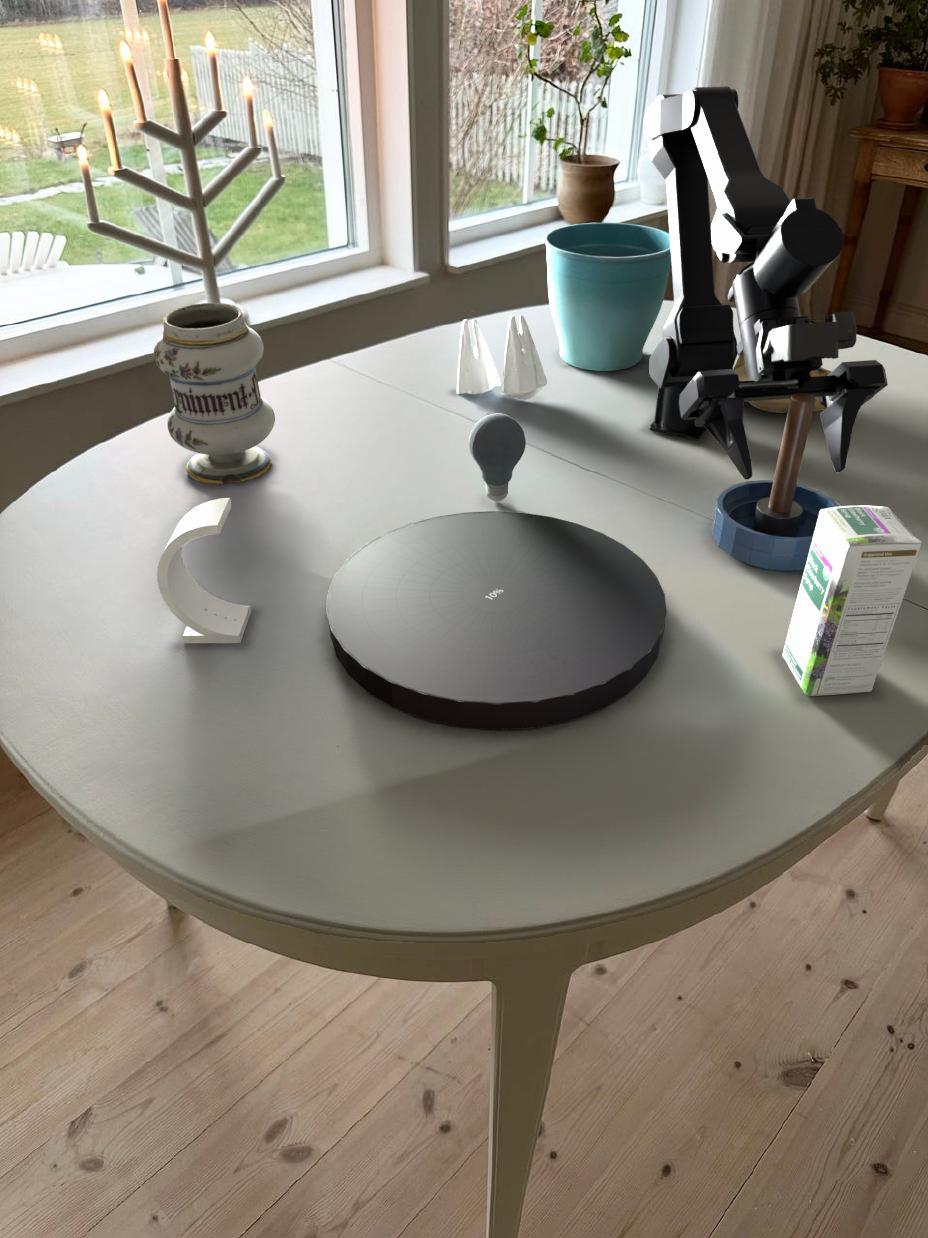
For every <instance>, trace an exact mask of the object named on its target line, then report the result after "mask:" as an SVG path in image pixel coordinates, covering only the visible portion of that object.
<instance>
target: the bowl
mask: <svg viewBox="0 0 928 1238" xmlns="http://www.w3.org/2000/svg"><path fill="white" fill-rule="evenodd" d="M773 480H774V479H760V480H759V479H757V480H748V481H747V480H746V481H743V482H738V483H735V484H732V485H730V486H728V487H727V488H724V490H722V491H721V492H720V493H719V495H718V497H717V498H716V501H715V507H714V513H713V519H712V520H713V521H712V525H711V537H712V539H713V541H714V542H715V543H716V545H717V547H718V548H720V549H721V550H722V551H723V552H725V553H726V554H728V555H729V556H730V557H732V558H734V559H736V560H738V561H740V562H743V563H744V564H747V565H749V566H752V567H756V568H760V569H765V570H771V571H779V572H792V571H802V570H803V571H804V570H805V566H806V563H807V559H808V555H809V551H810V547H811V543H812V540H813V536H814V532H815V528H816V524H817V521H818V517H819V513H820V510H821V509H826V508H832V507H840V506H841V505H839V503H838V502H837V501H836V500H835V499H833V498H832V497H830V496H828V495H827V494H825V493H824V492H822V491H819V490H817V489H814V488H813V487H809V486H807V485H804V484H799V483H797V485H796V490H795V494H794V499H793V501H795V502H796V503H798V504H799V505H800V506H801V507H802V510H803V512H802V516H801V521H800V525H799V529H798V533H797V538H792V537H780V536H773V535H768V534H764V533H760V532H756V531H754V530H752V526H753V521H754V516H755V511H756V506H757V503H758V501H760V500H761V499H763V498H767V497H770V495H771V490H772V485H773Z"/></svg>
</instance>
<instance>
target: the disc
mask: <svg viewBox="0 0 928 1238" xmlns="http://www.w3.org/2000/svg"><path fill="white" fill-rule="evenodd" d="M666 601H667V600H666V594H665V591H664V588H663V587H662V585H661V583H660V581H659V578H658V576H657V575H656V574H655V573H654V571H653V570H652V569H651V568H650V566H649V565H648V564H647V563H646V562H645V560H644V559H642V558H641V557H640V556H639V555H637V553H635V552H634V551H632V550H631V549H630V548H629V547H627V546H626V545H624V544H623V543H622V542H619V541H617V540H615V539H614V538H612V537H610V536H608V535H606V534H605V533H602V532H600V531H597V530H595V529H592V528H589V527H588V526H585V525H582V524H579V523H577V522H573V521H569V520H568V521H567V520H565V519H560V518H557V517H553V516H548V515H541V514H534V513H526V512H520V511H519V512H518V511H517V512H516V511H496V510H491V511H490V510H488V511H470V512H469V511H467V512H459V513H452V514H446V515H439V516H434V517H430V518H425V519H422V520H418V521H415V522H410V523H408V524H405V525H403V526H400V527H397V528H395V529H392V530H390V531H387V532H384V533H383V534H381V535H380V536H378V537H376V538H374V539H372V540H371V541H369V542H367V543H365V544H364V545H362V546H361V547H360V548H359V549H358V550H357V551H355V552H354V553H353V554H351V555H350V556H349V557H347V559H346V560H345V561H344V562H343V564H341V566H340V567H339V569H338V570H337V571H336V573H335V574H334V575H333V578H332V580H331V583H330V584H329V587H328V590H327V592H326V604H325V614H326V618H327V621H328V626H329V635H330V640H331V644H332V647H333V651H334V655H335V657H336V658H337V660H338V661H339V663H340V665H341V666H342V668H343V670H344V671H345V672H346V674H347V675H348V676H349V677H350V678H351V679H352V680H353V681H354V682H355V683H356V684H358V686H360V687H361V688H362V689H363V690H364V691H365V692H366V693H367V694H369V695H371V696H372V697H374V698H376V699H377V700H379V701H380V702H382V703H384V704H386V705H387V706H389V707H391V708H393V709H396V710H398V711H401V712H403V713H406V714H408V715H411V716H414V717H416V718H419V719H421V720H424V721H429V722H433V723H438V724H443V725H447V726H452V727H456V728H464V729H477V730H478V729H479V730H488V731H489V730H490V731H504V730H522V729H537V728H542V727H547V726H551V725H556V724H561V723H567V722H571V721H574V720H576V719H579V718H581V717H585V716H587V715H590V714H593V713H595V712H598V711H601V710H603V709H604V708H606V707H608V706H610V705H612V704H613V703H616V702H617V701H618V700H620V699H622V698H623V697H625V696H627V695H628V694H629V693H630V692H631V691H632V690H633V689H635V688H636V687H637V686H638V685H639V684H640V683H641V682H642V681H643V680H644V679H646V677H647V676H648V674H649V673H650V671H651V670H652V668H653V666H654V665H655V663H656V662H657V660H658V659H659V658H658V657H659V655H660V650H661V647H662V642H663V637H664V631H665V625H666V618H667V613H668V612H667V610H668V609H667V602H666Z"/></svg>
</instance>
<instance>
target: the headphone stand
mask: <svg viewBox="0 0 928 1238" xmlns="http://www.w3.org/2000/svg"><path fill="white" fill-rule="evenodd" d="M231 508H232V502H231V498H230V497H222V498H215V499H211V500H208V501H205V502H202V503H200V504H198V505H196V506H194V507H193V508H191V509H190V510H189V511H188V512H187V513H186V514H184V516H183V517H181V519H180V521H178V523H177V524H176V527H175V529H174V530H173V533H172V534H171V537H170V539H169V540H168V543H167V544H166V545H165V547H164V550H163V552H162V553H161V556H160V558H159V560H158V564H157V573H156V576H157V577H156V578H157V585H158V589H159V592H160V595H161V597H162V599H163V602H164V603H165V605H166V606H167V607H168V609H169V610H170V612H171V613H172V614H173V615H174V616H175V617H176V618H177V619H178V620H179V621H180V622H181V623H183V624H184V625H185V626H186V627H185V630H184V632H183V634H182V638H183V643H184V644H241V642H242V640H243V636H244V634H245V631H246V628H247V626H248V622H249V619H250V617H251V614H252V612H251V606H250V605H242V604H236V603H231V602H229V601H228V602H227V601H225V600H223V599H220V598H217V597H215V596H214V595H212V594H210V593H209V592H207V591H206V590H205V589H203V587H201V586H200V585H199V584H198V583H197V582H196V581H195V580H194V578H193V576H191V574H190V573H189V571H188V569H187V567H186V565H185V562H184V558H183V550H182V548H183V546H185V545H186V544H187V543H189V542H191V541H192V540H196V539H197V538H198V539H199V538H201V537H204V536H209V535H220V532H221V531H222V528H223V526H224V524H225V521H226V520H227V518H228V515H229V513H230V511H231Z"/></svg>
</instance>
